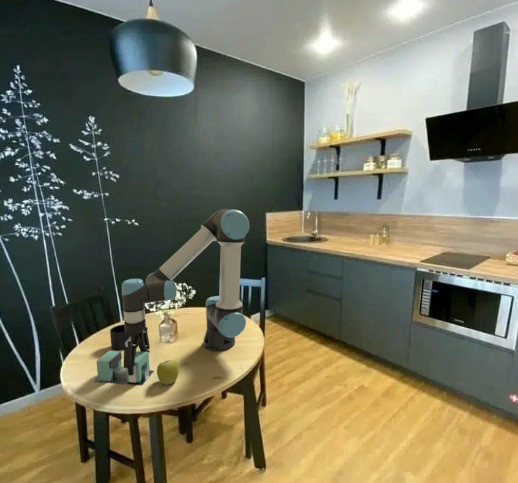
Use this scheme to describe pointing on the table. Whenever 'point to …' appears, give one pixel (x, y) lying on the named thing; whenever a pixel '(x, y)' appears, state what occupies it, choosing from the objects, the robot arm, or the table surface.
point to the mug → (118, 337)
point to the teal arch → (140, 364)
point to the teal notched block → (108, 365)
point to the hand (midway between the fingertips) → (138, 375)
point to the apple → (167, 372)
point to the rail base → (121, 376)
